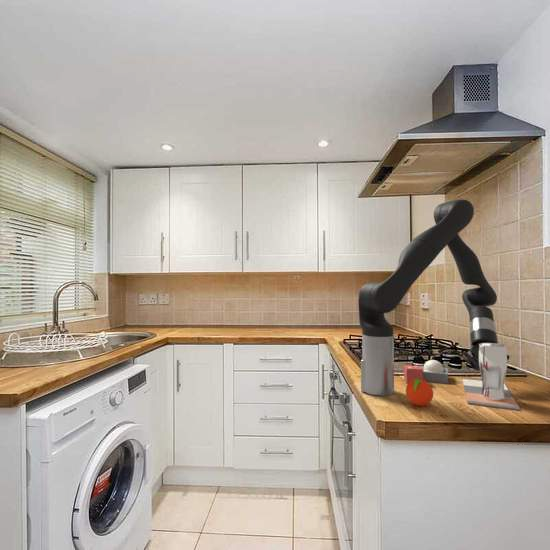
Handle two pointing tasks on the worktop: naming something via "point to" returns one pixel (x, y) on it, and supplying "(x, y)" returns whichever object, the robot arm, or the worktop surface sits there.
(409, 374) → the die
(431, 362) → the dome cap
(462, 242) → the robot arm
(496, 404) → the game board
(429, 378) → the dome base
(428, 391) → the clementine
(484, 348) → the beer glass
